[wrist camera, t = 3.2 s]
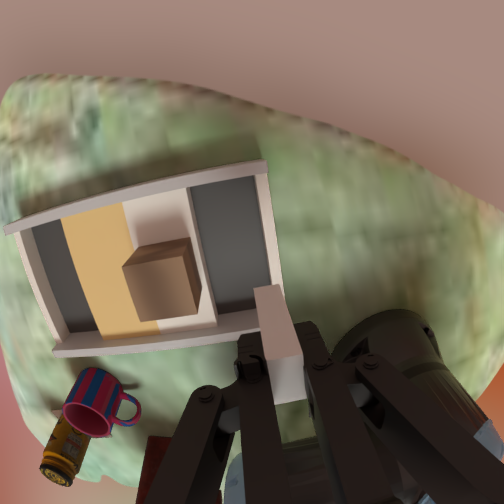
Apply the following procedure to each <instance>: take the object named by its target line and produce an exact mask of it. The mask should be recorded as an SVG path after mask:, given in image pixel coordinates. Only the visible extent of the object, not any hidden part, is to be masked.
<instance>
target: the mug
mask: <svg viewBox="0 0 504 504" xmlns="http://www.w3.org/2000/svg"><path fill="white" fill-rule="evenodd" d="M122 399H125V400H129V401H131V402H132V403H134V404H135V405H136V406H137V412H136V414H135V416H134V417H133V418H132V419H130V420H120V419H118V418H117V417H116V415H117V412H118V409H119V406H120V403H121V400H122ZM62 413H63V415H64V417H65V419H66V420H67V421H68V422H69V423H70V424H71V425H72V426H73V427H74V428H76V429H77V430H79V431H80V432H82V433H84V434H87V435H89V436H93V437H105V436H108V435H109V434H110V433H111V430H112V427H113V424H114V423H115V424H118V425H120V426H133V425H135V424H136V423H137V422H138V421H139V419H140V417H141V405H140V403H139V402H138V400H137V399H136V398H134V397H133V396H131V395H129V394H127V393H124V392H123V388H122V386H121V384H120V383H119V381H118V380H117V379H116V378H115V377H114V376H112V375H111V374H109V373H108V372H106V371H104V370H101V369H97V368H87V369H84V370H82V371H81V373H80V374H79V376H78V378H77V380H76V382H75V384H74V385H73V387H72V389H71V391H70V393H69V395H68V397H67V399H66V401H65V403H64V405H63V407H62Z"/></svg>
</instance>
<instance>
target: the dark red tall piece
mask: <svg viewBox="0 0 504 504" xmlns="http://www.w3.org/2000/svg"><path fill="white" fill-rule="evenodd" d="M171 439H172V438H170V437H158V436H149V437H148V441H147V446H146V451H145V456H144V461H143V466H142V471H141V476H140V482H139V487H138V493H137V498H136V504H143V503H144V501H145V498H146V496H147V494H148V492H149V489H150V487H151V485H152V483H153V480H154V478H155V476H156V473H157V471H158V469H159V467H160V464H161V462H162V460H163V458H164V455H165V453H166V451H167V448H168V446H169V444H170V442H171ZM215 504H222V493H221V490H219V492H218V496H217V499H216V503H215Z"/></svg>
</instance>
